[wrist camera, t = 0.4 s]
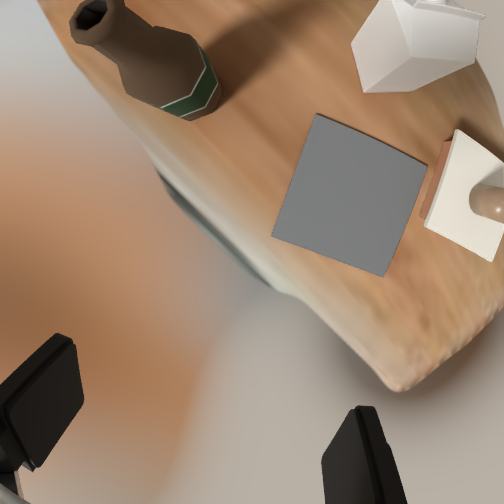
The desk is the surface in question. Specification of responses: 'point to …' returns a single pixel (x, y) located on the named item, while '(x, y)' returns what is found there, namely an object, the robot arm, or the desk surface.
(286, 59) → the desk surface
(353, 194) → the mat
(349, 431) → the robot arm
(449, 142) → the terracotta square tray
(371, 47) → the milk carton
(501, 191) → the cover
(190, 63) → the beer bottle
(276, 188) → the desk surface
